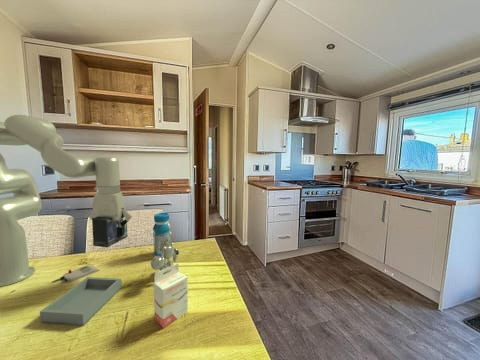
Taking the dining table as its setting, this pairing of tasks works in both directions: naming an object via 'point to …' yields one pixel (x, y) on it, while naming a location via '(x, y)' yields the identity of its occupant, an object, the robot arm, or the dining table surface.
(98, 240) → the small box
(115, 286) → the tray
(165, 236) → the beverage bottle
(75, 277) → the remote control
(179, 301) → the ink cartridge box
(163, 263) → the robot toy
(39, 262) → the dining table surface
